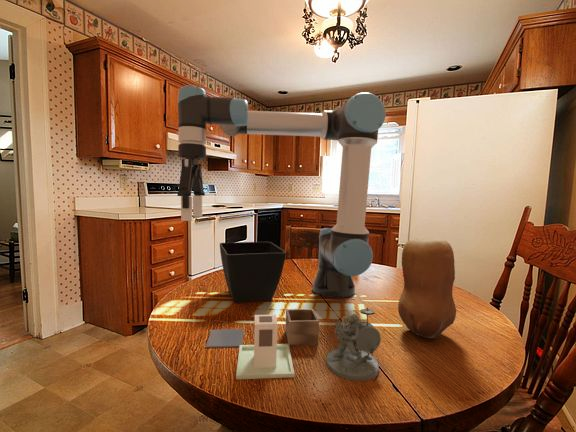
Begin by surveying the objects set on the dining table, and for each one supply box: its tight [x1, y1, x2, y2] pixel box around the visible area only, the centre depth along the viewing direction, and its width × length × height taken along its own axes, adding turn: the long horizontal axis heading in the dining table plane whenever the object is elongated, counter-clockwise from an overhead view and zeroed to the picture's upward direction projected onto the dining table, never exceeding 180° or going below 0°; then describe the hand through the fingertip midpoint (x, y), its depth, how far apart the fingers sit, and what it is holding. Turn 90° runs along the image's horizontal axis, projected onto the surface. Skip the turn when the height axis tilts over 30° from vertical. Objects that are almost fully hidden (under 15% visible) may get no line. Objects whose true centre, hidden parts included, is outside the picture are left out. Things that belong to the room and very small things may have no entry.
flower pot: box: [219, 241, 287, 304], centre depth 99 cm, size 19×19×17 cm
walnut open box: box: [284, 308, 320, 347], centre depth 71 cm, size 7×7×6 cm
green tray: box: [235, 343, 295, 380], centre depth 61 cm, size 11×11×1 cm
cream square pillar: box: [253, 314, 278, 368], centre depth 60 cm, size 5×5×9 cm
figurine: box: [325, 307, 382, 382], centre depth 60 cm, size 11×11×12 cm
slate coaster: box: [205, 328, 245, 349], centre depth 70 cm, size 8×8×1 cm
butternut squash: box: [397, 238, 457, 339], centre depth 74 cm, size 14×13×25 cm
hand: (192, 218), depth 86 cm, fingers open, 13 cm apart
